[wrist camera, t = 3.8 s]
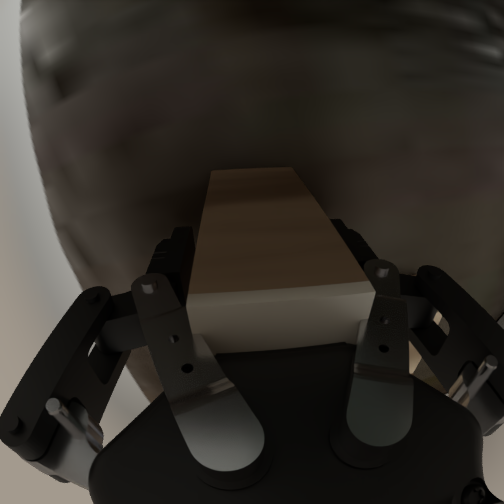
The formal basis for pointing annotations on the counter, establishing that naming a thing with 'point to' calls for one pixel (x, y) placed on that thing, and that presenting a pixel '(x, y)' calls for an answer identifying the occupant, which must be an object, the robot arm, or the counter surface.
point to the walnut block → (272, 267)
